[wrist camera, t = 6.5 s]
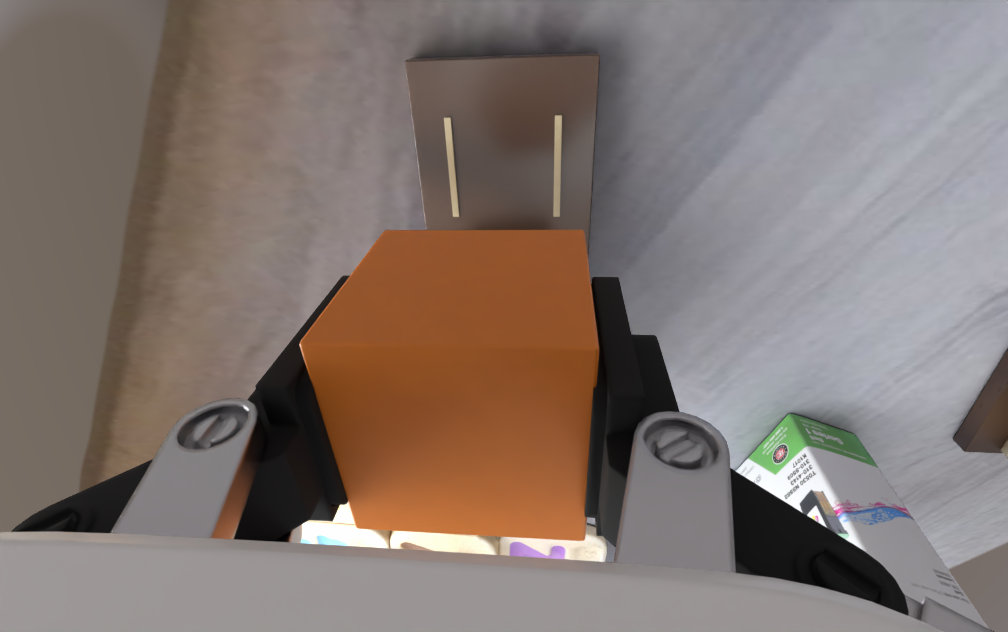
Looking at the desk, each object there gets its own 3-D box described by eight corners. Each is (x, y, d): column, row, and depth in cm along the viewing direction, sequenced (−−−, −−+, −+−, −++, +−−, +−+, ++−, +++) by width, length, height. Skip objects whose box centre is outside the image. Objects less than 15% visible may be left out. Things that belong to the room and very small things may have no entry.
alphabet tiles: (574, 689, 51) (575, 717, 49) (266, 650, 53) (255, 676, 51) (625, 464, 33) (630, 494, 31) (161, 420, 35) (136, 446, 33)
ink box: (787, 409, 30) (902, 614, 20) (860, 434, 30) (1008, 647, 20) (709, 494, 34) (769, 697, 24) (773, 515, 35) (859, 722, 25)
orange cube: (383, 229, 11) (297, 342, 8) (584, 228, 11) (599, 348, 7) (410, 383, 14) (355, 530, 10) (576, 388, 13) (585, 543, 9)
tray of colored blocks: (410, 58, 22) (369, 73, 17) (598, 52, 21) (609, 66, 16) (452, 407, 32) (434, 475, 28) (578, 412, 31) (581, 483, 27)
